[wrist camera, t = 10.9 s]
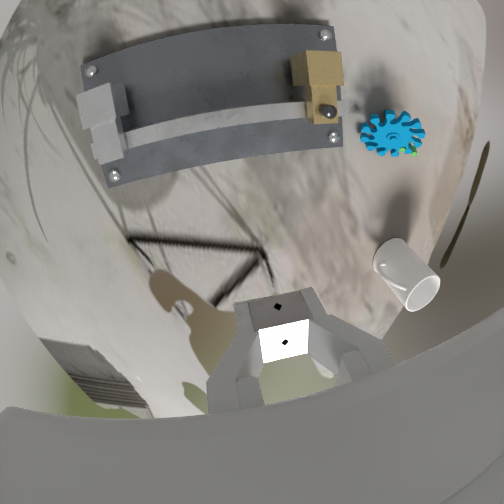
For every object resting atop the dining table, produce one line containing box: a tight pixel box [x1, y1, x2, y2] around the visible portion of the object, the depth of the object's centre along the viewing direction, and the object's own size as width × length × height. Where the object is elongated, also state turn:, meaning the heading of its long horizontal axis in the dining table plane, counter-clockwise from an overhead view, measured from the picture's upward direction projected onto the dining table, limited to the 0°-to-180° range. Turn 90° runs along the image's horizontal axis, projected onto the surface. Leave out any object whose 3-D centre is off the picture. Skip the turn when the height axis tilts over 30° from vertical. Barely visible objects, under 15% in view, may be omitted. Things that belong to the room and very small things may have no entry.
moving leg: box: [290, 50, 344, 124], centre depth 27 cm, size 8×4×7 cm, turn 7°
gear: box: [360, 110, 425, 157], centre depth 34 cm, size 11×6×10 cm
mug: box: [373, 238, 440, 311], centre depth 45 cm, size 12×8×12 cm
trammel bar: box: [76, 82, 349, 165], centre depth 26 cm, size 8×31×7 cm, turn 97°
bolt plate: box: [81, 24, 343, 188], centre depth 30 cm, size 18×33×2 cm, turn 97°
